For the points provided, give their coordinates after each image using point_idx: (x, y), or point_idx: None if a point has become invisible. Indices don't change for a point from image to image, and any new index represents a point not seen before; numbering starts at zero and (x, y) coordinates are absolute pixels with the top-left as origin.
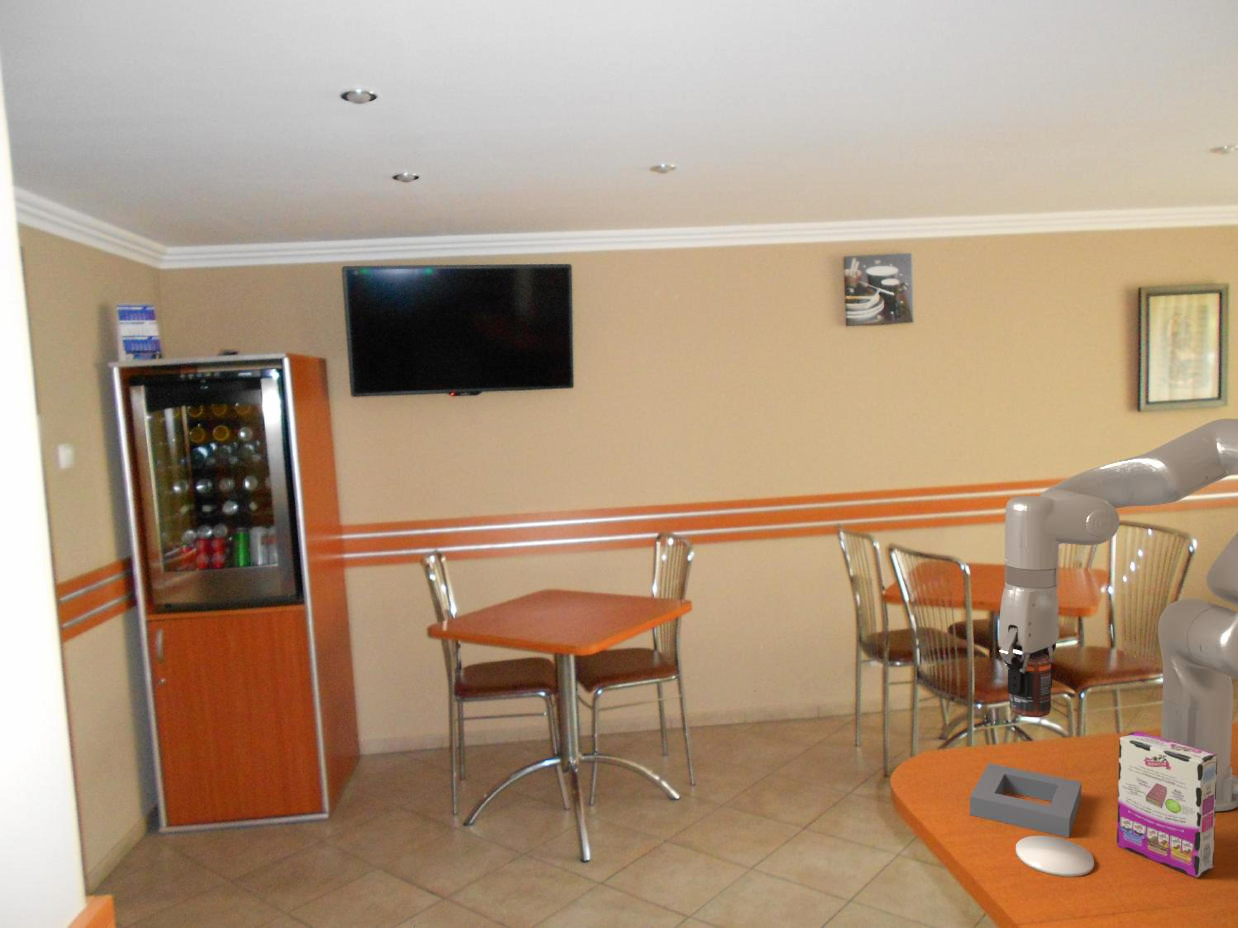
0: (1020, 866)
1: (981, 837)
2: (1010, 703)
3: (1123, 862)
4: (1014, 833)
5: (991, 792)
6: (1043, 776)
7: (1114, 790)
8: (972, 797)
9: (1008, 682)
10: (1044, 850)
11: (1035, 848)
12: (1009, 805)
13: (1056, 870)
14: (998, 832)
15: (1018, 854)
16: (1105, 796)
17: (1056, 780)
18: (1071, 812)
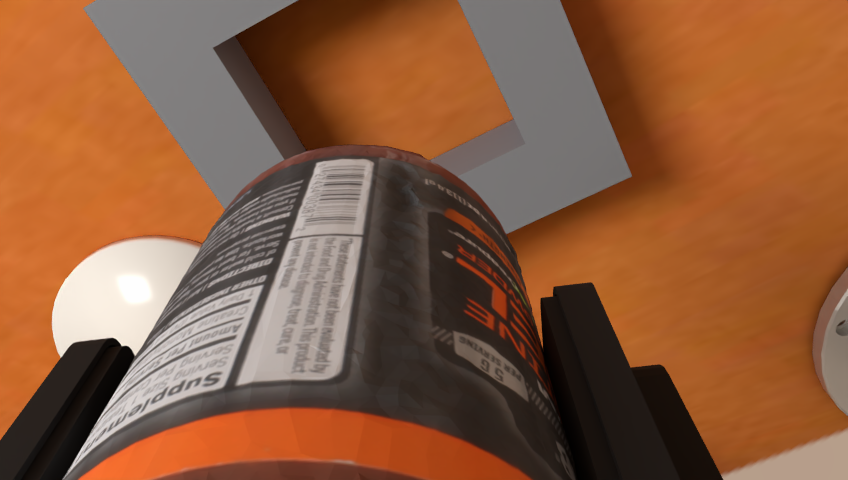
0: (33, 316)
1: (36, 142)
2: (209, 232)
3: None
4: (171, 183)
5: (205, 36)
6: (551, 56)
7: (786, 167)
8: (91, 18)
9: (28, 416)
10: (153, 317)
11: (136, 297)
12: (188, 154)
13: None
14: (122, 150)
15: (59, 290)
16: (708, 179)
17: (560, 113)
18: None
